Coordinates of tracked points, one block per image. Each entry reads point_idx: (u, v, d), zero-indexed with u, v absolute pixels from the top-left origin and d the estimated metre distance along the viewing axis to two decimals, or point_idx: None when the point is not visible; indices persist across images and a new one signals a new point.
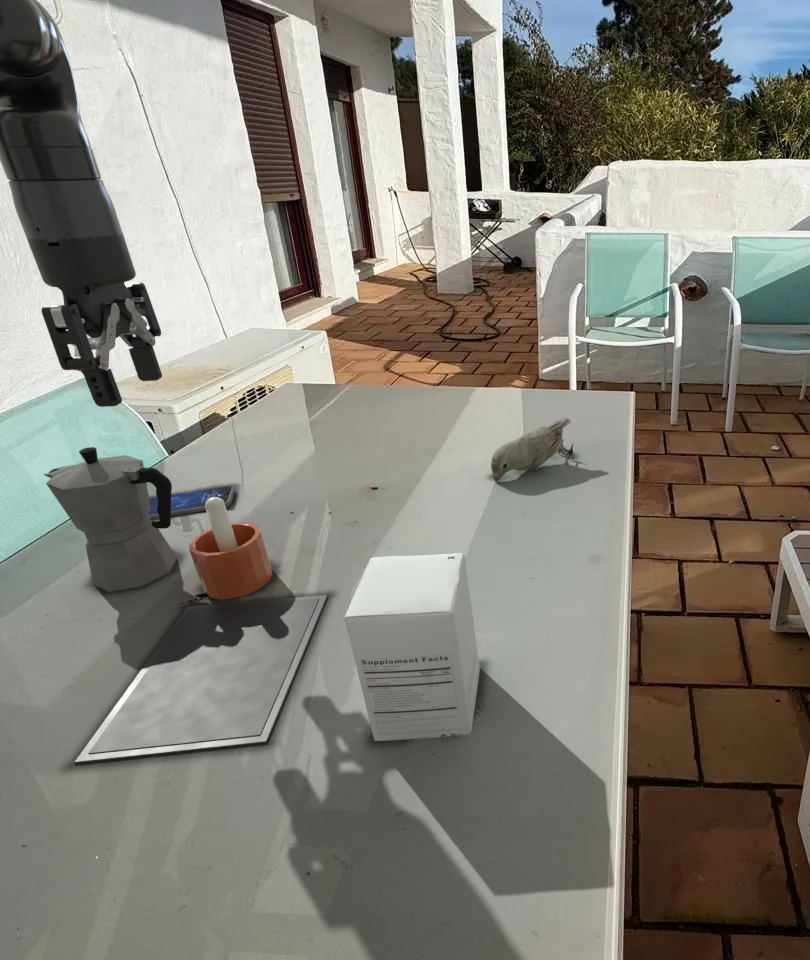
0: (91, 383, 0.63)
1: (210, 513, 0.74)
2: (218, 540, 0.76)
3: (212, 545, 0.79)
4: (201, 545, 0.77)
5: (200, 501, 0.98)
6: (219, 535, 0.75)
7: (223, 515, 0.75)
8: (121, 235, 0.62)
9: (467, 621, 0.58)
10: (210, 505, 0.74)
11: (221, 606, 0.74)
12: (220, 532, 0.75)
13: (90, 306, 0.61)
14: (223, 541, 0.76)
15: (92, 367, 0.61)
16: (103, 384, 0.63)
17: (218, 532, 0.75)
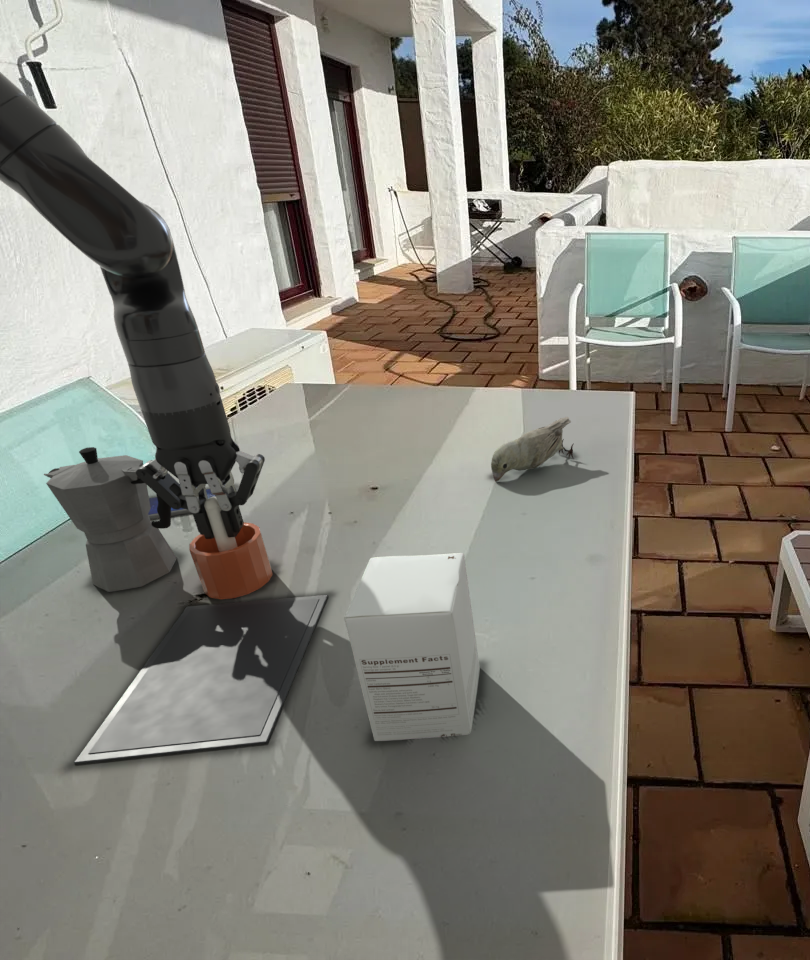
0: (237, 515, 0.75)
1: (209, 513, 0.74)
2: (217, 539, 0.76)
3: (212, 545, 0.79)
4: (201, 545, 0.77)
5: None
6: (218, 535, 0.75)
7: None
8: None
9: (467, 621, 0.58)
10: (210, 505, 0.74)
11: (221, 606, 0.74)
12: (219, 532, 0.75)
13: None
14: (222, 541, 0.76)
15: None
16: None
17: (217, 532, 0.75)
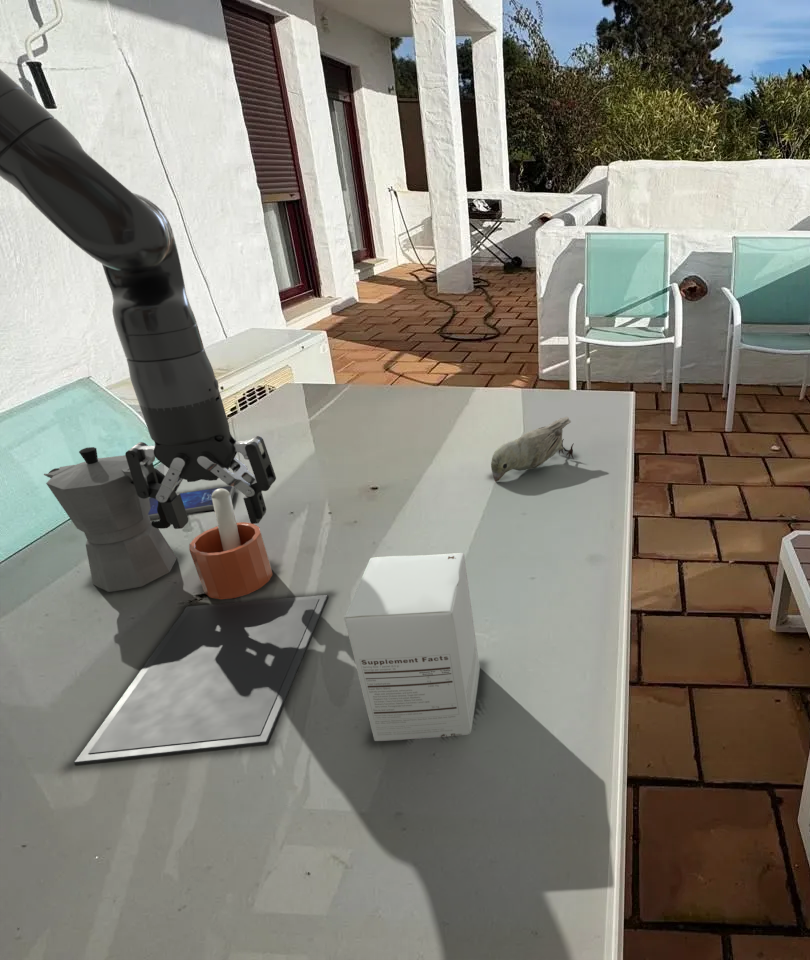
0: (260, 501, 0.75)
1: (216, 502, 0.77)
2: (221, 531, 0.78)
3: (212, 545, 0.79)
4: (201, 545, 0.77)
5: (200, 501, 0.98)
6: (223, 526, 0.78)
7: (228, 505, 0.78)
8: None
9: (467, 621, 0.58)
10: (216, 493, 0.77)
11: (221, 606, 0.74)
12: (224, 522, 0.78)
13: None
14: (226, 532, 0.78)
15: None
16: None
17: (222, 522, 0.77)
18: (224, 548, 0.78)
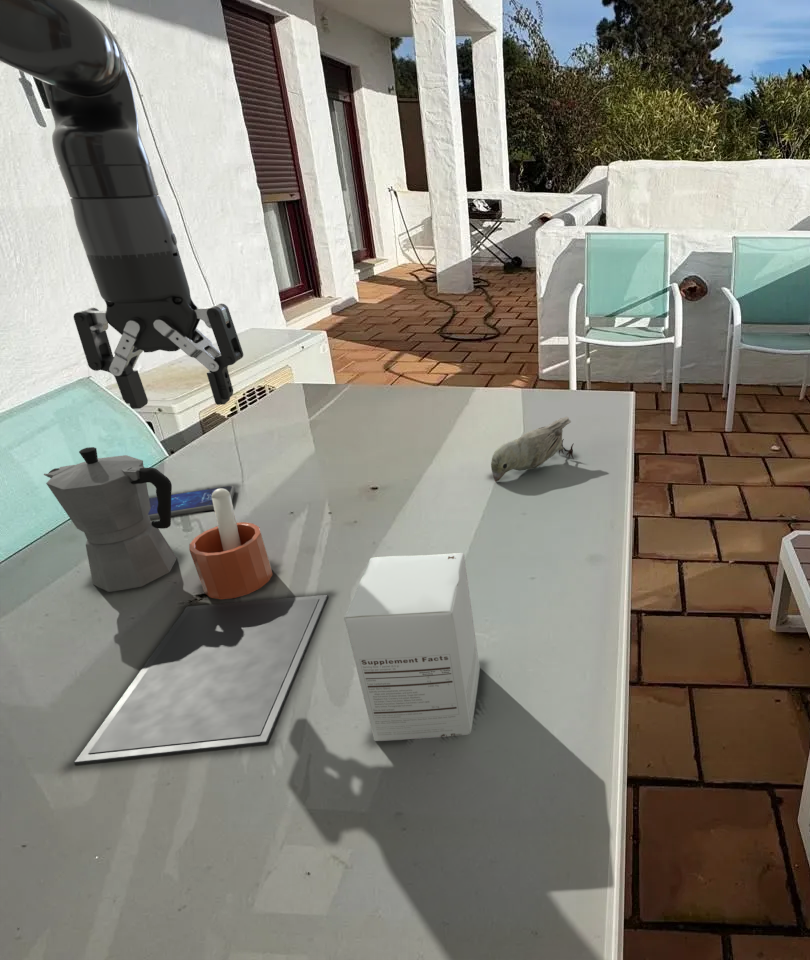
0: (225, 379, 0.68)
1: (216, 502, 0.77)
2: (221, 531, 0.78)
3: (212, 545, 0.79)
4: (201, 545, 0.77)
5: (200, 501, 0.98)
6: (223, 526, 0.78)
7: (228, 505, 0.78)
8: None
9: (467, 621, 0.58)
10: (216, 493, 0.77)
11: (221, 606, 0.74)
12: (224, 522, 0.78)
13: None
14: (226, 532, 0.78)
15: None
16: None
17: (222, 522, 0.77)
18: (224, 548, 0.78)
